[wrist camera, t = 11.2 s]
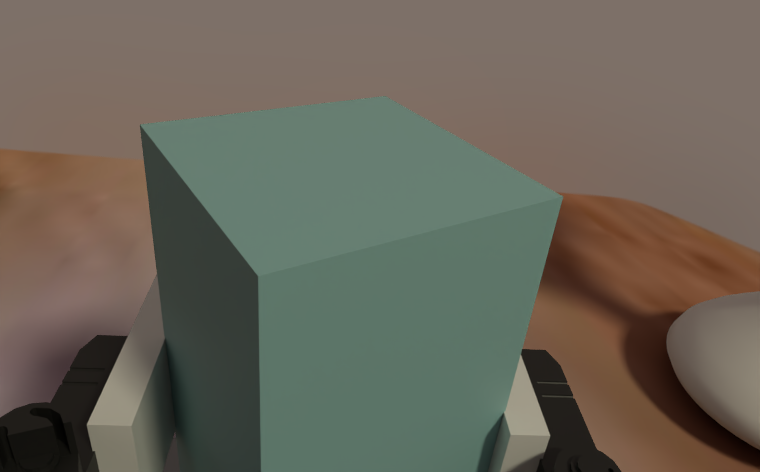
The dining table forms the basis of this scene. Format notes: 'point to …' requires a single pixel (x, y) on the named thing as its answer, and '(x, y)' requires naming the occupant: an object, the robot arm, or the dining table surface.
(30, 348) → the dining table surface
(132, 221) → the dining table surface
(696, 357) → the flower in vase
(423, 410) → the peg
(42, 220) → the dining table surface
